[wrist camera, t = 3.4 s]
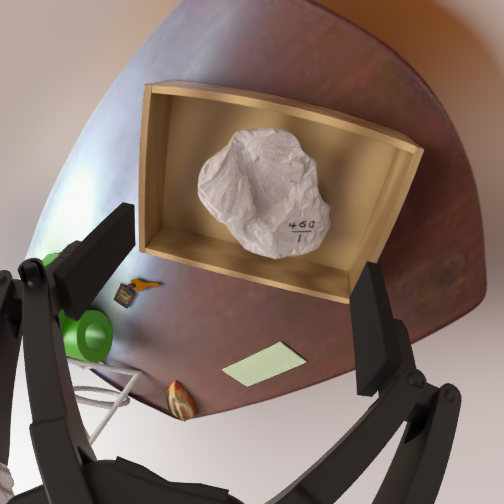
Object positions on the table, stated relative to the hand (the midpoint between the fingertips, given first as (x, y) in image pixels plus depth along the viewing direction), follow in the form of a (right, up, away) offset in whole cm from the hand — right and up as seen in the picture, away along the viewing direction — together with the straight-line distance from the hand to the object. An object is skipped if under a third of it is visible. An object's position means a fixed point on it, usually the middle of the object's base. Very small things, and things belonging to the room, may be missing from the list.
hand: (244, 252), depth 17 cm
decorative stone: (-12, -26, +34) cm, 44 cm away
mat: (+2, -15, +23) cm, 27 cm away
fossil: (+2, +6, +8) cm, 10 cm away
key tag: (-14, -5, +19) cm, 24 cm away
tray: (+2, +6, +9) cm, 11 cm away
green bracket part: (-26, -8, +19) cm, 33 cm away
